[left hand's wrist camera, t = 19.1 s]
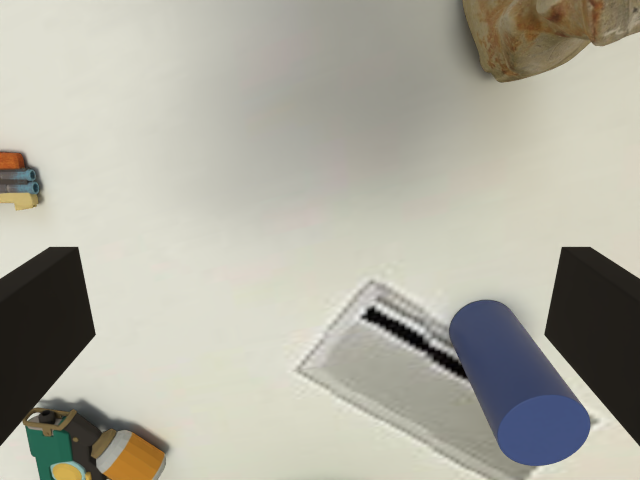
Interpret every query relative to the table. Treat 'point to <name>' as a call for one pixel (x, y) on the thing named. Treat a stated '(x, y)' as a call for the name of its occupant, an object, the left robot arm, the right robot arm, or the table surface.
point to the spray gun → (88, 449)
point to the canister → (517, 386)
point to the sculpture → (544, 31)
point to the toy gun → (17, 182)
